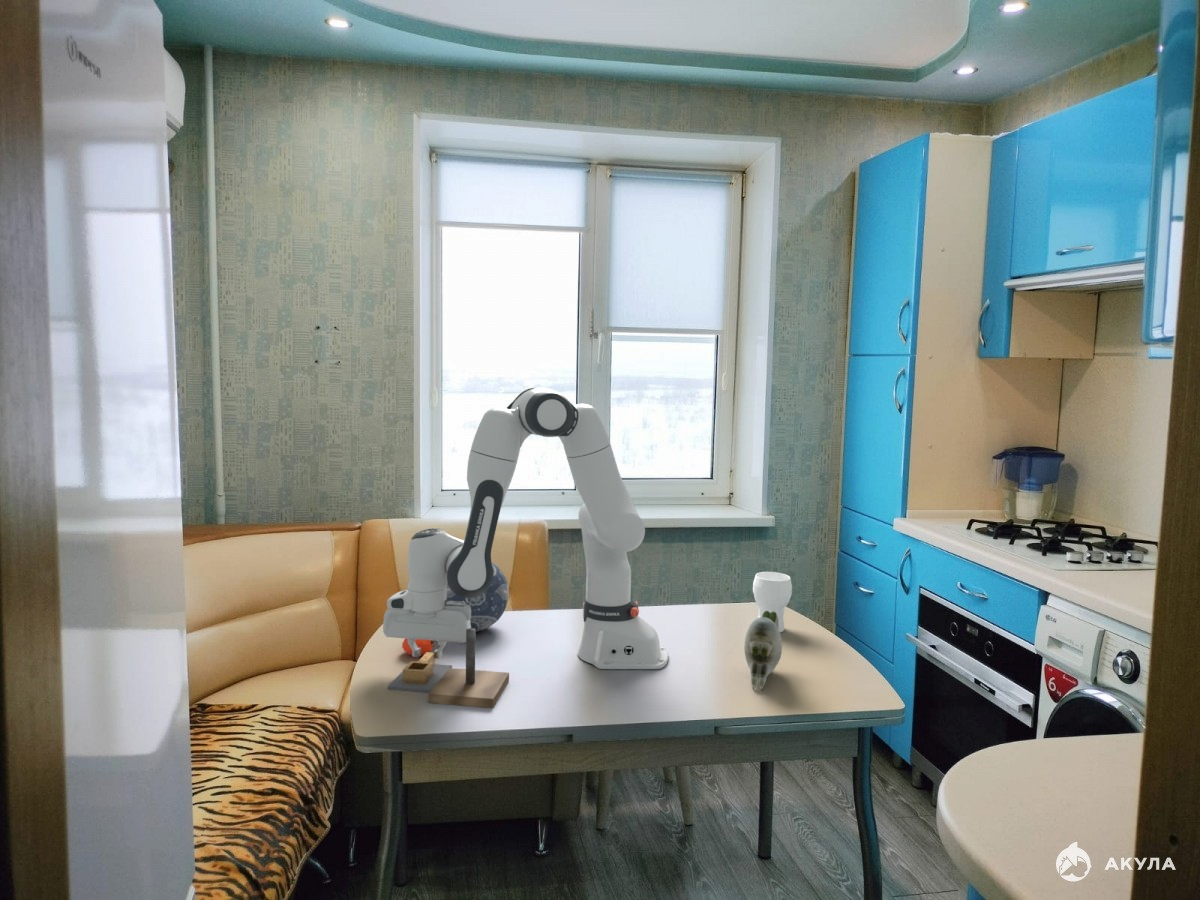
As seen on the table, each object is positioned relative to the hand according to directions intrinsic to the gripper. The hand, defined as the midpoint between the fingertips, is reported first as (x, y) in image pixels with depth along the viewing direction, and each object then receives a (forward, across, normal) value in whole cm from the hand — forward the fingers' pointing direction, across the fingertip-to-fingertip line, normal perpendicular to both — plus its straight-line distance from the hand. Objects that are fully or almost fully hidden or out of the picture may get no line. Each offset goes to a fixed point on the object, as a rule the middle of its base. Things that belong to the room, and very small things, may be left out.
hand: (427, 657), depth 179 cm
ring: (+3, 0, +3) cm, 4 cm away
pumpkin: (+4, +6, -10) cm, 12 cm away
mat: (+3, 0, +4) cm, 5 cm away
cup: (+4, -83, -47) cm, 95 cm away
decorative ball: (+4, -2, -29) cm, 29 cm away
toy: (+4, -78, -13) cm, 79 cm away
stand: (+3, -13, +9) cm, 16 cm away
